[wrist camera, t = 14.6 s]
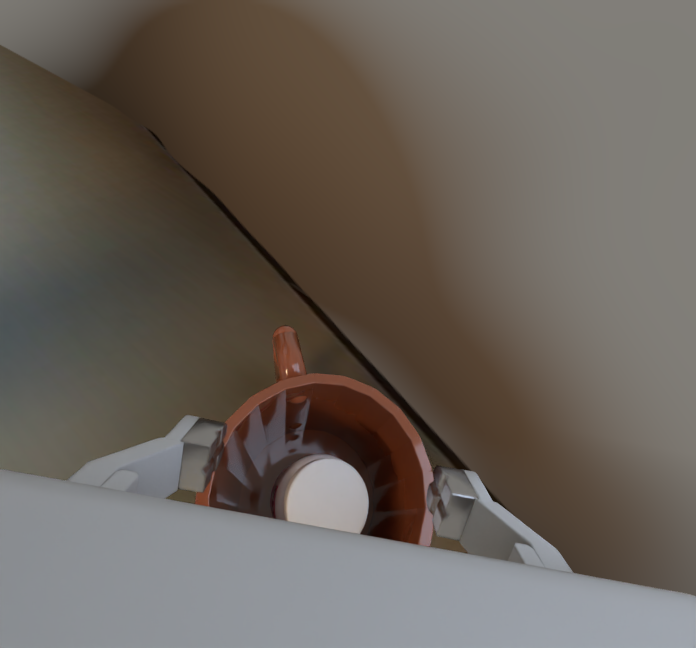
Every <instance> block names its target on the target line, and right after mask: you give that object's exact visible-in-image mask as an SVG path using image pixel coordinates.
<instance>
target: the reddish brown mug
mask: <svg viewBox="0 0 696 648" xmlns="http://www.w3.org/2000/svg"><path fill="white" fill-rule="evenodd" d="M273 353H274V369H275V379H276V383H275V384H273V385H271V386H269V387H268V388H266V389H264V390H262V391H260V392H258V393H256V394H255V395H253V396H251V397H250V398H249V399H248V400H247V401H246V402H245V403H244V404H243V405H242V406H241V407H240V408H239V409H238V410H237V411H236V412H235V413H234V414H233V415H232V416H231V417H230V418H229V419H228V420H227V421H226V423H227V433H226V435H225V437H224V439H223V442H224V444H225V446H224V451H223V455H222V458H221V461H220V463H219V466H218V468H217V469H216V471H214V472H212V476H211V480H210V482H209V484H208V485H207V487H206V489H205V491H204V492H203V493H201V492H197V494H196V498H195V500H196V501H195V504H197V505H203V506H208V507H213V508H219V509H224V510H230V511H235V512H241V513H246V514H252V515H257V516H263V517H268V518H273V515H272V512H271V506H270V500H271V492H272V489H273V486H274V483H275V481H276V479H277V478H278V476H279V475H280V474H281V472H282V471H283V470H284V469H286V468H287V467H288V466H289V465H291V464H292V463H294V462H296V461H297V460H299V459H301V458H303V457H306V456H309V455H313V454H328V455H332V456H334V457H337V458H339V459H341V460H342V461H344V462H346V463H348V464H349V465H351V466H352V467H353V468H354V469H355V470H356V471H357V472H358V473H359V474H360V476H361V478H362V479H363V481H364V483H365V486H366V489H367V493H368V500H369V508H368V515H367V519H366V522H365V525H364V527H363V529H362V531H361V533H360V534H362V535H367V536H373V537H378V538H384V539H389V540H395V541H400V542H406V543H411V544H417V545H422V546H428V547H430V545H431V540H432V534H433V529H434V526H433V523H432V518H433V515H432V514H431V513H430V512H429V510H428V507H427V501H426V498H427V490H428V487H429V484H430V483H432V482H433V481H434V477H433V471H432V467H431V464H430V462H429V459H428V456H427V454H426V451H425V448H424V446H423V443H422V440H421V438H420V437H419V434H418V433H417V431H416V430H415V429H414V427H413V426H412V424H411V423H410V422H409V420H408V419H407V417H406V416H405V415H404V413H403V412H402V410H401V409H399V407H398V406H397V405H395V404H394V403H393V402H391V401H390V400H389V399H388V398H386V397H385V396H384V395H383V394H381V393H380V392H379V391H378V390H376V389H375V388H373V387H371V386H368V385H366V384H364V383H361V382H359V381H356V380H354V379H351V378H349V377H346V376H339V375H328V374H317V373H314V374H313V373H312V374H307V373H306V369H305V365H304V360H303V356H302V352H301V348H300V344H299V339H298V335H297V332H296V331H295V330H294V328H292V327H290V326H286V325H284V326H280V327H278V328H277V329H276V330H275V331H274V333H273Z"/></svg>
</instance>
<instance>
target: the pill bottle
mask: <svg viewBox="0 0 696 648" xmlns="http://www.w3.org/2000/svg"><path fill="white" fill-rule="evenodd" d="M270 506H271V512H272V515H273V518H274V519H279V520H285V521H290V522H296V523H301V524H307V525H312V526H318V527H323V528H329V529H334V530H340V531H345V532H351V533H356V534H360V533H361V531H362V529H363V527H364V525H365V522H366V519H367V515H368V508H369V500H368V493H367V489H366V486H365V483H364V481H363V479H362V478H361V476H360V474H359V473H358V472H357V471H356V470H355V469H354V468H353V467H352V466H351V465H349V464H348V463H346V462H344V461H342V460H341V459H339V458H337V457H334V456H332V455H328V454H313V455H309V456H306V457H303V458H301V459H299V460H297V461H296V462H294V463H292V464H291V465H289V466H288V467H287V468H286V469H284V470H283V471H282V472H281V474H280V475H279V476H278V478H277V479H276V481H275V483H274V486H273V489H272V492H271V500H270Z"/></svg>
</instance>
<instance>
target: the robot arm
mask: <svg viewBox="0 0 696 648" xmlns="http://www.w3.org/2000/svg"><path fill="white" fill-rule="evenodd" d="M226 433H227V423H223V422H219V421H214V420H210V419H205V418H200V417H196V416H191V415H185V416H184V417H183V418H182V419H181V420H180V421H179V423H178V424H177V425H176V426H175V427H174V428H173V429H172V430H171V431H170V432H169V433H168V434H167V435H166V437H165V438H157V439H154V440H151V441H148V442H145V443H142V444H139V445H136V446H133V447H130V448H127V449H125V450H122V451H119V452H116V453H113V454H110V455H107V456H104V457H101V458H98V459H95V460H92V461H89V462H88V463H86V464H85V465H84V466H83V467H82V468H81V469H79V470H78V471H77V472H76V473H75V474H73V475H72V476H71V477H70V478H69V479H68V480H66V481H65V480H60V479H54V478H49V477H43V476H38V475H32V474H27V473H21V472H16V471H10V470H5V469H0V648H696V597H695V596H693V595H689V594H686V593H681V592H676V591H670V590H664V589H659V588H653V587H647V586H641V585H636V584H631V583H625V582H620V581H614V580H609V579H603V578H597V577H592V576H587V575H581V574H576V573H573V572H572V571H571V569H570V567H569V566H568V565H567V563H566V562H565V560H564V559H563V557H562V556H561V554H560V553H559V552H558V550H557V549H556V548H554V547H553V546H552V545H551V544H549V543H548V542H547V541H545V540H544V539H543V538H542V537H540V536H539V535H538V534H537V533H535V532H534V531H533V530H531V529H530V528H529V527H528V526H526V525H525V524H524V523H522V522H521V521H520V520H519V519H517V518H516V517H515V516H513V515H512V514H511V513H510V512H508V511H507V510H506V509H504V508H503V507H502V506H501V505H499V504H498V503H496V502H493V501H492V499H491V497H490V496H489V494H488V492H487V490H486V489H485V487H484V485H483V484H482V482H481V480H480V478H479V477H478V475H477V474H476V473H475V472H473V471H467V470H460V469H454V468H448V467H443V466H436V467H435V469H434V472H433V477H434V481H433V482H432V483H430V484H429V487H428V490H427V498H426V501H427V507H428V510H429V512H430V513H431V514H432V515H433V518H432V523H433V526H434V529H435V532H436V535H437V536H439V537H444V538H448V539H453V540H458V541H459V542H460V544H461V545H462V546H463V547H464V548H465V550H466V551H467V552H468V553H469V554H466V553H461V552H455V551H450V550H444V549H439V548H433V547H428V546H422V545H417V544H411V543H406V542H400V541H395V540H389V539H384V538H378V537H373V536H367V535H362V534H356V533H351V532H345V531H340V530H334V529H329V528H323V527H318V526H312V525H307V524H301V523H296V522H290V521H285V520H279V519H274V518H268V517H263V516H257V515H252V514H246V513H241V512H235V511H230V510H224V509H219V508H213V507H208V506H203V505H197V504H192V503H186V502H181V501H175V500H170V499H165V498H166V497H168V496H169V495H171V494H173V493H174V492H176V491H177V490H178V489H181V490H188V491H194V492H201V493H203V492H204V491H205V489H206V487H207V485H208V484H209V482H210V480H211V476H212V472H214V471H216V469H217V468H218V466H219V463H220V461H221V458H222V455H223V451H224V446H225V444H224V442H223V439H224V437H225V435H226Z"/></svg>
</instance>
